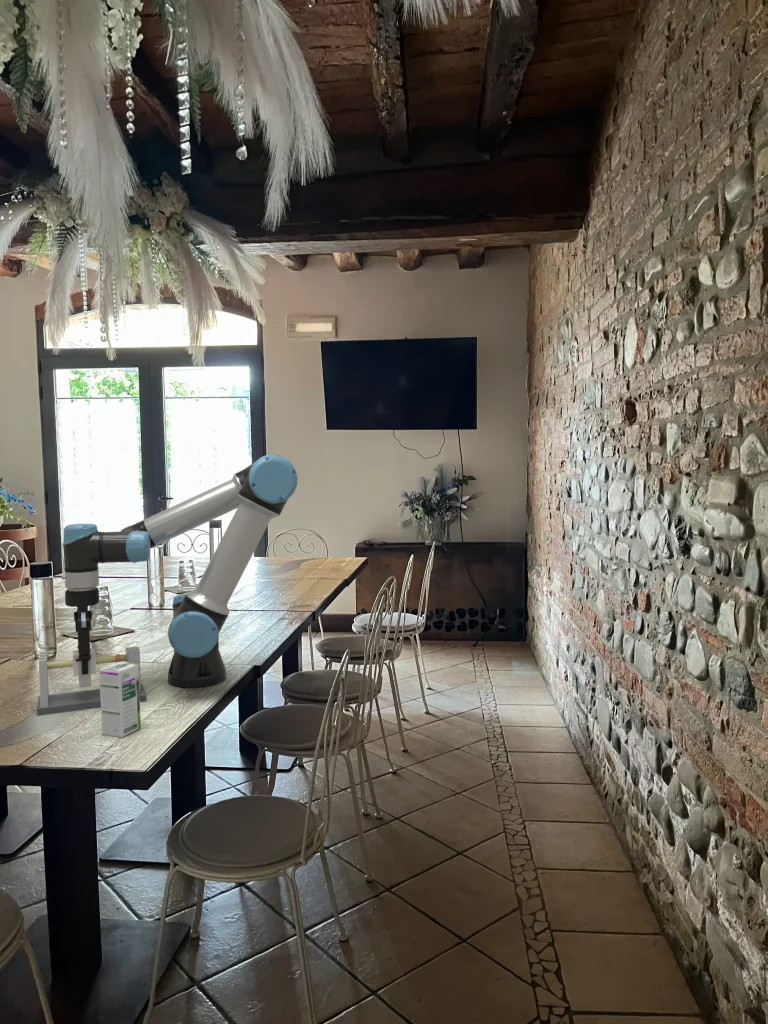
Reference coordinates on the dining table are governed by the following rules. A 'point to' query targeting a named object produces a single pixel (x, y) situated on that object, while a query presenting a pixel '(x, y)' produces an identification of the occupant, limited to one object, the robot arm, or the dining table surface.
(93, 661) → the sleeve
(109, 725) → the syrup box
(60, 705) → the cable comb board
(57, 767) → the dining table surface
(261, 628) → the dining table surface
